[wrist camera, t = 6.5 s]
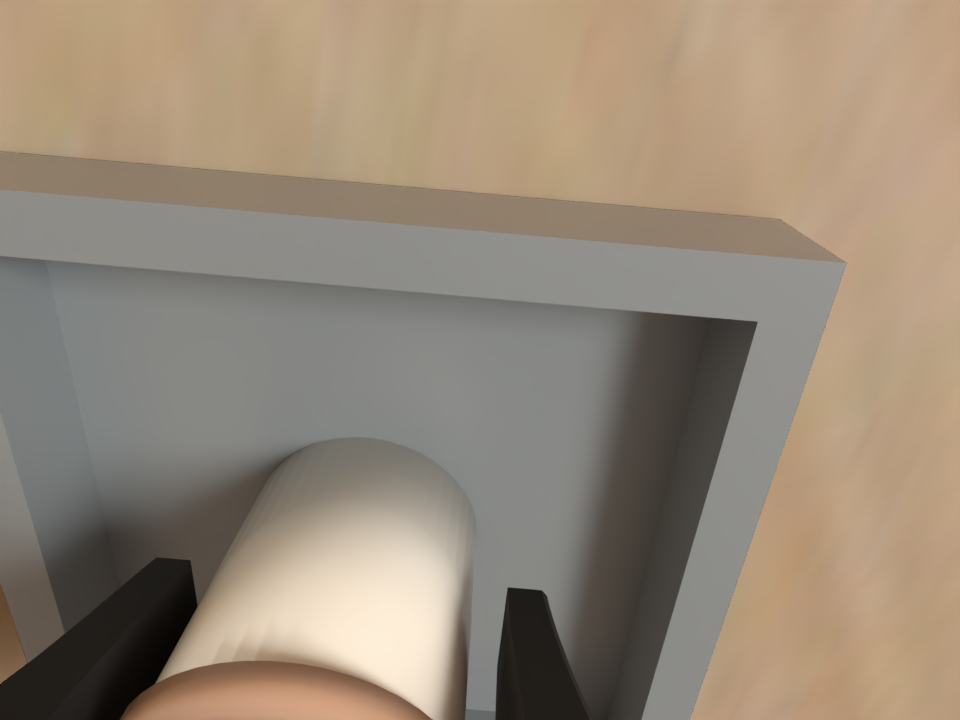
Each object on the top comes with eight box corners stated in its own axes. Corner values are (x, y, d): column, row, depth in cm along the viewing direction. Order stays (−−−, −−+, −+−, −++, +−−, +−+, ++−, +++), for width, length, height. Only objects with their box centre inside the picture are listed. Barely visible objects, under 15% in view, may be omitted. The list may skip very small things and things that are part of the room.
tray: (780, 219, 11) (846, 262, 9) (633, 726, 18) (652, 826, 15) (-11, 150, 11) (-137, 177, 9) (122, 683, 18) (66, 777, 15)
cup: (504, 450, 13) (501, 737, 8) (467, 629, 15) (445, 947, 10) (247, 410, 13) (61, 677, 8) (249, 598, 15) (107, 903, 10)
